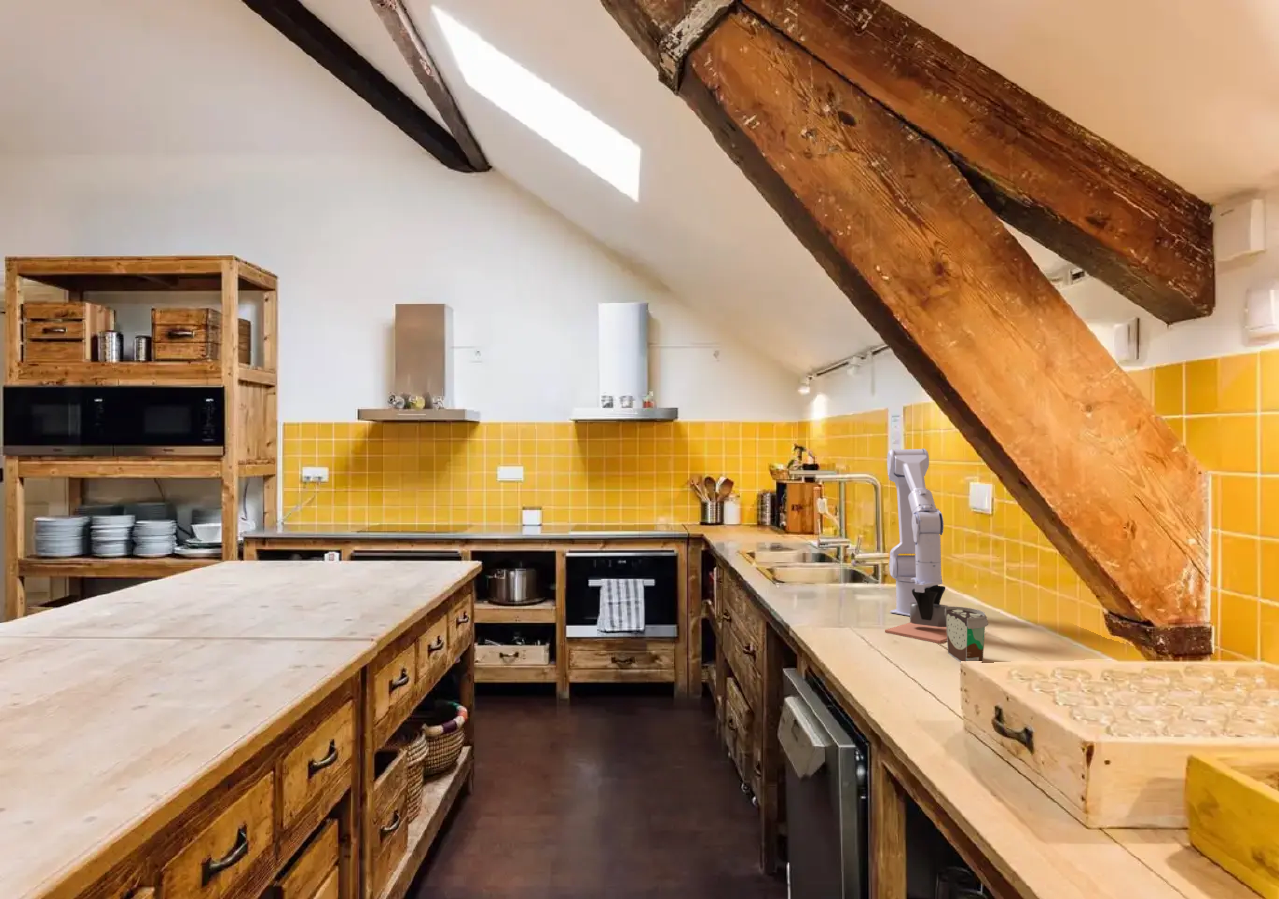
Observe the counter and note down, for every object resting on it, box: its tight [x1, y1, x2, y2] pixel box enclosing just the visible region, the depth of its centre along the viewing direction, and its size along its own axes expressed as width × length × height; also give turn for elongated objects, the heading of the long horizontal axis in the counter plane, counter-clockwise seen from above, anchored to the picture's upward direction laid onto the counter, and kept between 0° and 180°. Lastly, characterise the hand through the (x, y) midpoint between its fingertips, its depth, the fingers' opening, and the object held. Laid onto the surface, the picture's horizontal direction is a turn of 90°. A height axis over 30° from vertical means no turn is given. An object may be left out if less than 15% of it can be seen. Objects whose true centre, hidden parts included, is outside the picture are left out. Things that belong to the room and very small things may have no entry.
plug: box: [909, 602, 948, 627], centre depth 178 cm, size 4×10×4 cm, turn 52°
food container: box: [945, 605, 989, 663], centre depth 155 cm, size 12×6×10 cm, turn 179°
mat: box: [884, 622, 947, 644], centre depth 178 cm, size 16×14×1 cm
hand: (929, 617), depth 178 cm, fingers closed on plug, 4 cm apart
